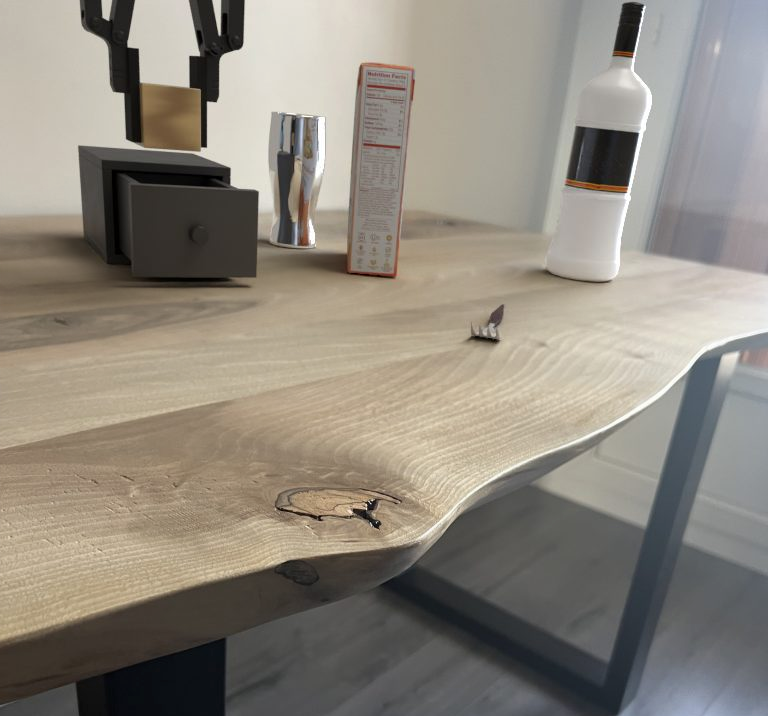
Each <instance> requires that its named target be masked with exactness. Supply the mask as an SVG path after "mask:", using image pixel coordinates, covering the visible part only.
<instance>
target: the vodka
mask: <svg viewBox="0 0 768 716" xmlns="http://www.w3.org/2000/svg"><path fill="white" fill-rule="evenodd" d="M645 10H646V5H645V4H644V3H641V2H638V1H625V2H623V3H622V4H621V9H620V14H619V19H618V23H617V24H618V26H617V29H616V33H615V39H614V45H613V49H612V54H611V59H610V63H609V67H608V68H607V69H606V70H604V71H602V72H600V73H599V74H597V75H596V76H594V77H592V79H590V80H588V81H587V82H586V83H585V84H584V85H583V86H582V88H581V90H580V91H579V95H578V98H577V99H578V100H577V108H576V118H575V119H574V124H575V125H574V131H573V136H572V142H571V147H570V151H569V152H570V153H569V156H568V157H569V158H568V163H567V169H566V175H565V180H564V187H562V189H561V200H560V206H559V211H558V215H557V221H556V226H555V230H554V233H553V235H552V236H553V237H552V238H551V239H552V240H551V241H550V245H549V248H548V250H546V255H545V261H544V264H545V269H546V270H547V271H548V272H549V273H550V274H552V275H554V276H557V277H561V278H564V279H568V280H569V279H570V280H575V281H583V282H590V283H591V282H594V283H604V282H609V281H611V280H613V279H615V278H616V276H617V275H618V273H619V269H620V263H621V259H620V252H621V241H622V240H621V237H622V234H623V227H624V223H625V218H626V214H627V210H628V206H629V202H630V201H631V195H630V193H631V189H632V185H633V180H634V176H635V171H636V167H637V163H638V157H639V152H640V148H641V143H642V140H643V134H644V132H645V131H646V129H647V126H646V123H647V119H648V116H649V113H650V111H651V106H652V93H651V91H650V88H649V87H648V86H647V85H646V84H645V82H644V81H643V80H642V79H641V78H640V77H639V76H638V74H637V73H635V71H634V64H635V57H636V53H637V48H638V44H639V38H640V33H641V30H642V29H641V27H642V23H643V20H644V15H645V14H644V13H645Z"/></svg>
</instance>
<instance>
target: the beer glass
mask: <svg viewBox="0 0 768 716" xmlns="http://www.w3.org/2000/svg"><path fill="white" fill-rule="evenodd" d="M326 124H327V118H326V117H325V116H322V115H321V116H320V115H312V114H304V113H295V112H283V111H271V112H270V124H269V131H268V132H269V133H268V144H267V145H268V147H267V163H268V175H269V183H270V190H271V191H270V192H271V199H272V222H271V226H270V227H271V228H270V233H269V237H268V243H269V244H270V245H272V246H276V247H281V248H288V249H303V250H304V249H305V250H306V249H314V248H316V247H317V244H318V243H317V233H316V213H317V212H316V211H317V210H316V209H317V205H318V202H319V201H318V200H319V196H320V192H321V188H322V184H323V176H324V172H325V166H326V154H327V153H326V152H327V132H326V131H327V127H326V126H327V125H326Z"/></svg>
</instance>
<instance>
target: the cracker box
mask: <svg viewBox="0 0 768 716" xmlns="http://www.w3.org/2000/svg"><path fill="white" fill-rule="evenodd" d="M357 71H358V72H357V78H356V89H355V98H354V100H355V101H354V112H353V113H354V115H353V117H354V118H353V131H352V148H351V162H350V163H351V165H350V181H349V197H348V198H349V199H348V215H347V216H348V217H347V218H348V219H347V236H346V237H347V242H346V243H347V245H346V248H347V249H346V261H347V262H346V263H347V264H346V265H347V273H348V272H349V273H348V274H351V273H360V274H369V275H368V276H377V275H380V277H390V276H391V278H392V277H393V278H395V277H397V276H398V266H399V265H398V264H399V256H400V255H399V254H400V243H401V233H402V232H401V231H402V221H403V208H404V199H405V187H406V176H407V166H408V165H407V164H408V154H409V146H410V145H409V144H410V134H411V123H412V114H413V113H412V112H413V102H414V93H415V85H416V68H415V67H411V66H404V65H398V64H391V63H385V62H374V61H373V62H367V61H366V62H361V63H360V65H359V66H358V70H357ZM360 274H359V275H360Z"/></svg>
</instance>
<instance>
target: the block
mask: <svg viewBox="0 0 768 716" xmlns="http://www.w3.org/2000/svg"><path fill="white" fill-rule="evenodd" d="M139 87H140V116H141V143H136V142H133V144H136V145H138V146H139V147H141V148H144V149H154V150H155V149H156V150H167V151H169V150H170V151H180V152H183V151H185V152H198V153H200V152H201V151H202V148H201V90H200V89H196V88H189V86H178V85H168V84H159V83H151V82H141V81H140V84H139Z"/></svg>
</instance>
